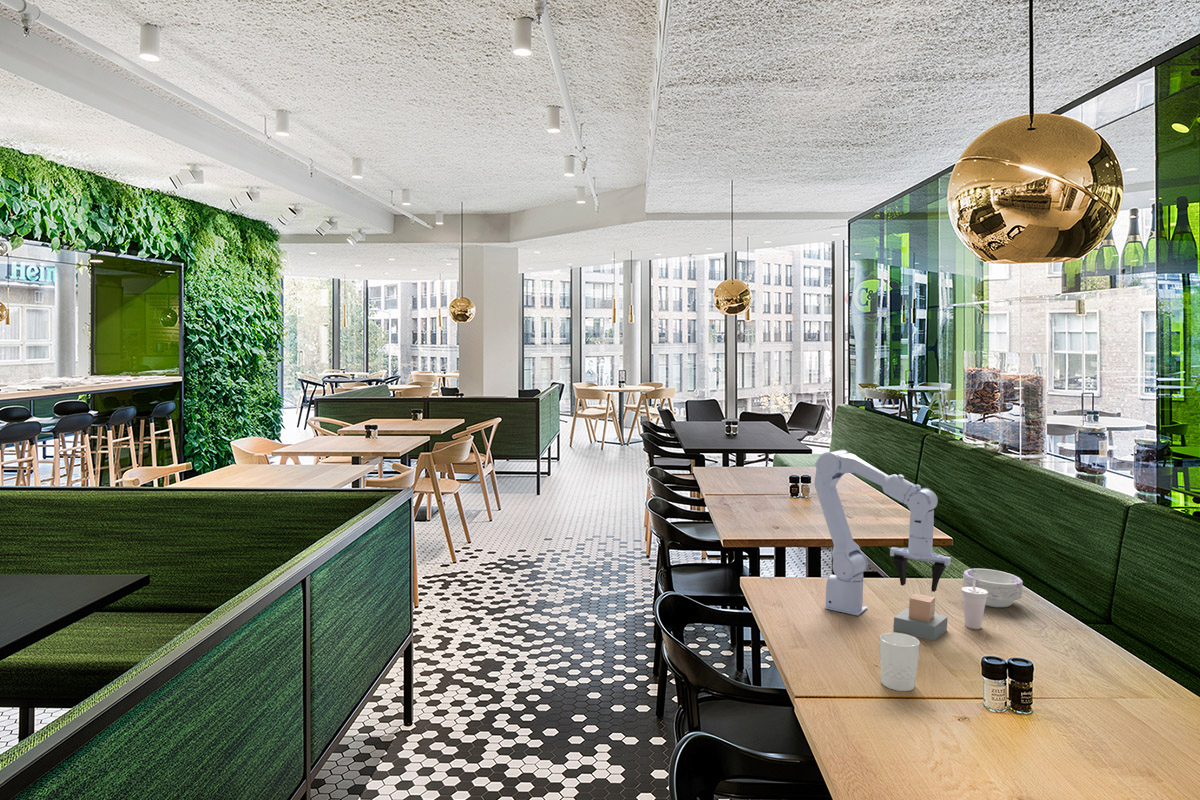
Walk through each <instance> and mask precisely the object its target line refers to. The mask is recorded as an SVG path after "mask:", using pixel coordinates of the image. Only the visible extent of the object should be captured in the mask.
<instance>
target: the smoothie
mask: <svg viewBox="0 0 1200 800" xmlns="http://www.w3.org/2000/svg"><path fill="white" fill-rule="evenodd" d="M975 580H976V573H973V587H963V586H962V587H961V590H960V593H961V594H962V604H963V617H964V626H965V627H966V628H968V629H973V630H979V629H981V628H982V623H983V619H984V618H983V617H984V613H985V608H986V606H985V603H986V598H987V597H988V591H986V590H984V589H982V588H977V587H975Z"/></svg>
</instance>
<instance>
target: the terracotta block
mask: <svg viewBox="0 0 1200 800" xmlns="http://www.w3.org/2000/svg"><path fill="white" fill-rule="evenodd" d="M908 603H909V604H908V608H909V618H914V619H918V620H923V621H927V622H930V621H931V620H932V618H933V617H934V614H935V609H936V608H935V607H936V597H935V596H930V595H924V594H920V593H913V594H912V596H910V597H909V602H908Z"/></svg>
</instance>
